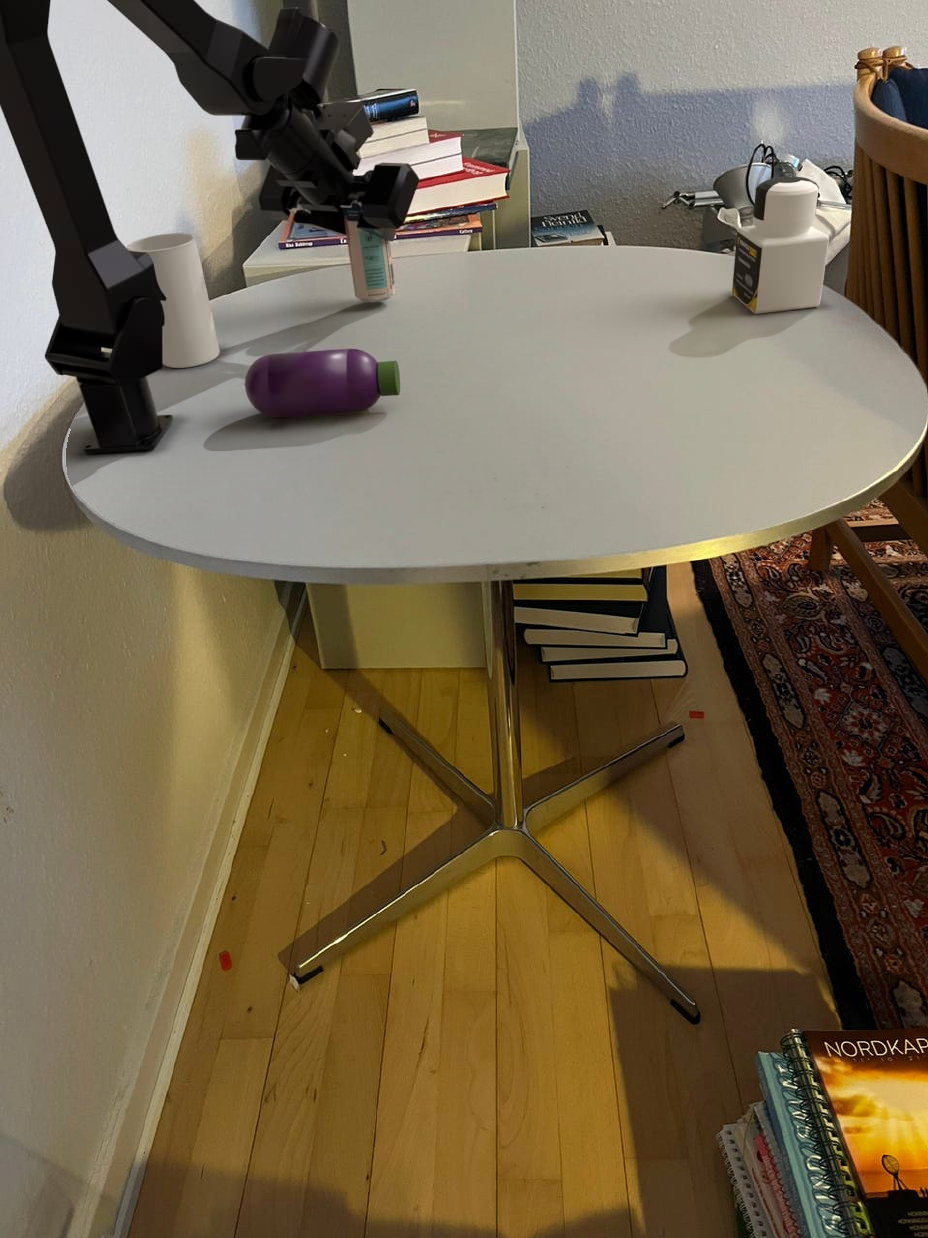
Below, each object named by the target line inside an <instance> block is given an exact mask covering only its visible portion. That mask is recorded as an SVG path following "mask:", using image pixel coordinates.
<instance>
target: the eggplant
mask: <svg viewBox="0 0 928 1238" xmlns="http://www.w3.org/2000/svg"><path fill="white" fill-rule="evenodd" d="M244 389H245V393H246V396H247V399H248V401H249V402H250V404H251V405H252V406H253V407H254V409H256V410H257V411H258V412H259V413H261V414H263V415H265V416H268V417H272V418H291V417H306V416H308V417H309V416H324V415H338V414H356V413H362V412H364V411H368V409H370V408H371V407H373V406H374V405H376V403H377V402H378V401H379V399H380V398H381V397H390V396H391V397H393V396H400V394H401V376H400V367H399V363H398V361H397V360H387V361H377V359H376V358H375V357H374V356H373V355H371V354H370V353H368V352H366V351H365V350H362V349H358V348H339V349H325V350H323V349H322V350H309V351H297V352H296V351H295V352H279V353H270V354H266V355H263V356H261V357H258V358H257V359H256V360H254V362H253V363H252V364H251V365H250V367H249V368H248V370H247V372H246V374H245V379H244Z"/></svg>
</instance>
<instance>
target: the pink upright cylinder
mask: <svg viewBox="0 0 928 1238" xmlns="http://www.w3.org/2000/svg"><path fill="white" fill-rule="evenodd" d="M360 209H361V206H360V205H359V204H358V203H357V200H355V202H354V205H353V207H351V208H346V207H343V214H344V221H345V228H346V235H347V236H346V243H347V249H348V250H347V251H348V256H349V263H350V270H351V276H352V284H353V285H352V286H353V292H354V296H355V298H356V299H358V300H360V301H362V302H364V303H379V302H383V301H387V300H389V299H390V298H391V297H392V296H393V295H394V294H396V283H395V282H396V281H395V275H394V266H393V256H392V250H391V241H387V240H385V239H382V238H380V237H377V236H375V235H373V234H370V233H368V232H365V231H363V230H361V229H358V228H357V227H356V226H357V223H358V221H359V218H360V215H361V212H362V211H361V210H360Z"/></svg>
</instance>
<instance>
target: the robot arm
mask: <svg viewBox="0 0 928 1238" xmlns="http://www.w3.org/2000/svg"><path fill="white" fill-rule="evenodd" d="M51 1H52V0H0V109H1V112H2V114H3V116H4V119H5V122H6V124H7V125H6V126H7V127H8V129H9V133H10V135H11V137H12V140H13V142H14V145H15V147H16V150H17V153H18V155H19V158H20V160H21V163H22V166H23V168H24V171H25V174H26V176H27V179H28V182H29V185H30V186H31V189H32V191H33V194H34V197H35V200H36V202H37V204H38V206H39V209H40V212H41V215H42V217H43V220H44V223H45V225H46V228H47V231H48V233H49V236H50V238H51V241H52V244H53V247H54V252H55V254H54V260H53V261H54V262H53V271H52V279H51V287H52V290H53V295H54V300H55V303H56V308H57V312H58V318H57V320H56V322H55V325H54V327H53V331H52V333H51V337H50V339H49V342H48V344H47V347H46V350H45V353H44V359H45V360H46V362H47V363H48V365H49V366H50V367H51V369H52V370H53V371H54V373H55V374H56V375H58V376H68V377H74V378H75V379H76V382H77V385H78V388H79V391H80V394H81V397H82V399H83V400H82V401H83V403H84V406H85V409H86V413H87V415H88V417H89V421H90V424H91V427H92V429H93V432H94V433H93V434H92V435H91V437H89V439H88V440H87V441H86V442H85V444H84V445H83V446H82V450H83V452H84V454H97V453H99V454H100V453H116V452H128V451H129V452H131V451H132V452H133V451H146V450H147V451H150V450H153V449H155V448H156V447H157V446H158V444H159V443H160V441H161V440H162V438H163V437H164V435H165V434H166V432H167V431H168V429H169V428H170V427H171V425H172V423H173V422H174V417H173V416H174V415H172V414H158V411H157V407H156V403H155V401H154V398H153V393H152V391H151V387H150V384H149V380H148V376H150V375H152V374H154V373H156V372H158V371H161V370H162V369H163V366H164V364H163V326H164V325H165V315H164V310H163V305H162V303H161V301H166V299H167V298H166V296H165V295H164V294H163V292H162V291H161V289H160V287H159V284H158V282H157V278H156V273H155V268H154V263H153V261H152V259H151V257H150V255H149V254H148V253H146V252H136V251H129V250H128V249H127V246H125V244H123V243H122V241H121V240H120V239H119V237H118V236H117V233H116V231H115V229H114V226H113V223H112V220H111V217H110V214H109V212H108V208H107V205H106V202H105V199H104V196H103V194H102V190H101V188H100V184H99V182H98V179H97V176H96V173H95V170H94V167H93V164H92V162H91V159H90V156H89V152H88V150H87V147H86V144H85V141H84V139H83V135H82V132H81V130H80V127H79V124H78V121H77V118H76V115H75V112H74V109H73V106H72V104H71V101H70V97H69V95H68V92H67V89H66V87H65V83H64V80H63V77H62V74H61V72H60V68H59V66H58V63H57V60H56V57H55V54H54V51H53V49H52V45H51V42H50V37H49V21H50V12H51V10H50V9H51ZM106 1H107V2H108V3H109V4H110V5H112V6H113V8H115V9H116V10H117V11H118V12H119V13H120V14H121V15H122V16H124V17H125V18H126V19H127V20H128V21H129V22H130V23H132V25H134V26H135V27H136V28H137V29H138V30H139V31H140V32H141V33H142V34H143V35H145V36H146V37H147V39H149V40H150V41H151V42H152V43H153V44H155V46H157V47H158V48H159V49H160V50H161V51H162V52H164V54H165V55H166V56H167V57H168V59H169V60H170V61H171V62H172V63H173V66H174V69H175V72H176V75H177V79H178V81H179V83H180V85H181V86H182V87H183V88H184V89H185V91H187V93H188V94H189V95H190V96H191V98H192V99H193V100H194V101H195V102H196V104H197V105H198V106H199V107H200V108H201V109H202V110H203V111H204V112H206V114H209V115H210V116H214V117H215V116H216V117H219V116H221V117H222V116H225V117H226V116H227V117H228V116H229V117H231V116H233V117H239V116H240V117H242V116H243V120H242V122H241V123H242V124H241V126H240V128H239V129H238V128H237V129H235V130H234V136H235V145H234V153H235V158H236V160H238V161H266V160H267V162H268V163H269V167H268V169H267V172H266V175H265V178H264V180H263V183H262V186H261V188H260V192H259V194H258V197H257V198H258V205H259V209H260V211H261V212H262V213H263V214H264V215H265V216H266V217H268V219H270V220H271V221H272V220H273V221H283V222H284V221H285V222H288V221H289V218H290V217H291V213H292V212H293V213H294V215H293V221H294V223H295V224H297V225H303V226H305V227H306V226H307V227H310V228H314V229H318V230H321V231H325V232H330V233H334V234H336V235H341V236H345V237H347V235H346V228H345V221H344V214H343V207H346V208H351V207H353V205H354V202H355V200H357V203H358V204H359V205H360V206H361V209H360V210H361V211H362V212H361V215H360V218H359V221H358V223H357V226H356V227H357V228H358V229H361V230H363V231H365V232H368V233H370V234H373V235H375V236H377V237H380V238H382V239H385V240H387V241H390V243H391V242H394V240H395V237H396V234H397V233H396V230H398V229H400V228H401V227H403V226H404V225H405V222H406V220H407V216H408V214H409V211H410V208H411V205H412V203H413V199H414V196H415V194H416V191H417V188H418V186H419V182H420V177H419V176H418V174H417V173H416V172H415V170H414V169H413V167H412V166H411V165H410V163H408V162H379V163H377V164H375V165H374V167H373V169H369V170H367V171H365V173H364V174H362V175H355V174H354V171H357V170H358V169H359V167H360V164H361V161H362V158H361V157H360V155H358V152H359V151H360V149H362V147H363V145H364V144H365V143H366V141H367V140H368V139H369V138H372V137H373V135H374V133H375V131H374V128H373V125H372V124H371V121H370V118H369V116H368V114H367V110H366V109H365V105H364V103H363V102H361V101H334V102H331V103H325V104H322V105H321V103H322V101H323V98H324V95H325V93H326V89H327V86H328V84H329V81H330V79H331V76H332V72H333V69H334V67H335V64H336V61H337V59H338V55H339V53H340V50H341V44H340V40H339V38H338V36H337V35H336V33H335V32H334V30H332V29H331V28H328V27H326V26H325V25H324V24H323V23H321V22H320V21H318V20H315V19H314V18H311V17H308V16H307V15H303V13H302V12H301V11H300V9H299V7H288V8H287V7H285V8H280V9H279V12H278V15H277V19H276V23H275V28H274V31H273V34H272V37H271V40H270V42H269V45H268V47H266V46H265V45H263V44H262V43H261V42H259V41H258V40H257V39H255V38H254V37H252V36H251V35H250V34H248V33H247V32H246V31H244V30H243V29H241V28H238V27H236V26H234V25H232V24H229V23H226V22H224V21H222V20H220V19H217V18H216V17H214V16H213V15H212V14H210V13H209V12H207V11H206V10H205V9H204V8H203V7H202V6H201V5H200V4H199V3H198V2H197V1H196V0H106ZM291 211H292V212H291ZM102 348H103V349H108V350H111V352H110V351H109V352H108V351H103V350H102Z"/></svg>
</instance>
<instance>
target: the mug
mask: <svg viewBox="0 0 928 1238" xmlns="http://www.w3.org/2000/svg"><path fill="white" fill-rule="evenodd" d="M126 248H127V249H128V250H129V251H136V252H146V253H148V254H149V255H150V257H151V259H152V261H153V263H154V268H155V273H156V278H157V282H158V284H159V287H160V289H161V291H162V292H163V294H164V295H165V296H166V298H167V299H166V301H161V303H162V305H163V310H164V315H165V325H164V326H163V366H166V367H168V368H172V369H173V368H174V369H185V368H192V367H197V366H201V365H204V364H205V365H206V364H207V363H210V362H211V361H214V360H215V359H216V358H217V357H218V356H219V355H220V353H221V352H220V347H219V342H218V341H219V340H218V337H217V332H216V331H217V330H216V326H215V322H214V317H213V313H212V307H211V303H210V299H209V294H208V289H207V285H206V281H205V276H204V271H203V266H202V262H201V258H200V257H201V256H200V253H199V249H198V246H197V241H196V237H195V235H194V234H191V233H187V232H186V233H185V232H170V233H169V232H168V233H161V234H155V235H150V236H146V237H143V238H140V239H137V240H134V241H132V242H131V243H129V244H127V246H126Z"/></svg>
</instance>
